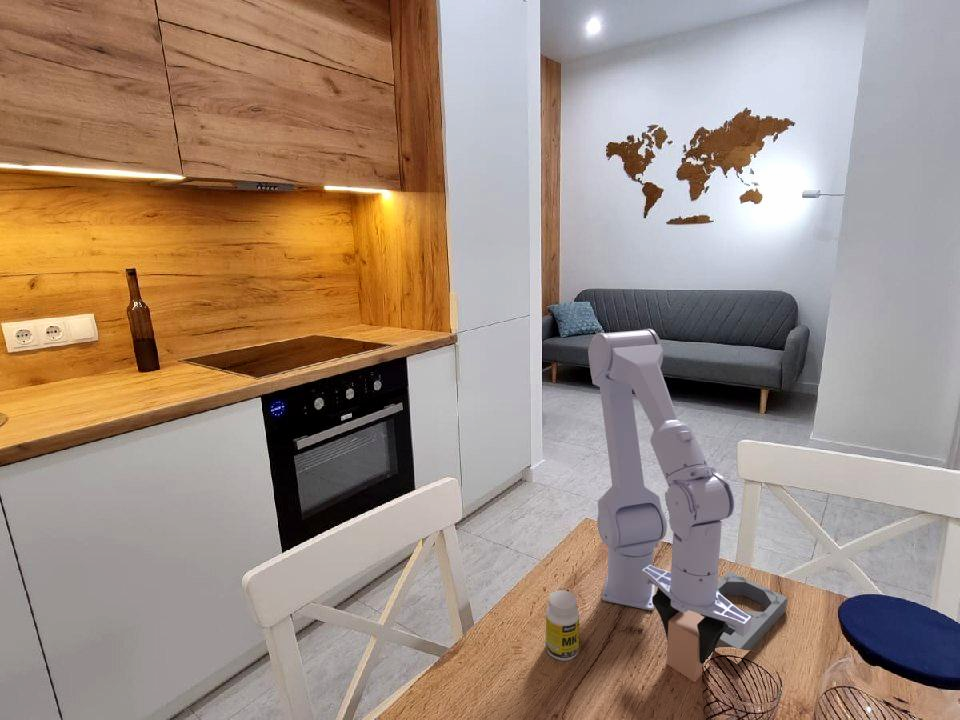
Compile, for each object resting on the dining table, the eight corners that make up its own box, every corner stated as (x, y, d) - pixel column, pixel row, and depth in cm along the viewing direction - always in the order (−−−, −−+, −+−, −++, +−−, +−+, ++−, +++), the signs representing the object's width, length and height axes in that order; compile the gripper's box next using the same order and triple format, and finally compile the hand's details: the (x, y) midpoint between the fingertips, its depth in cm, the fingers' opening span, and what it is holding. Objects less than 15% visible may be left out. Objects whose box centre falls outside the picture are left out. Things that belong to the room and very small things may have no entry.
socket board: (737, 665, 72) (739, 649, 71) (677, 629, 79) (678, 615, 78) (785, 611, 82) (787, 597, 81) (728, 583, 89) (729, 570, 88)
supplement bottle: (563, 667, 73) (563, 615, 71) (539, 648, 76) (538, 598, 74) (585, 649, 76) (586, 599, 74) (561, 632, 79) (561, 583, 77)
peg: (666, 663, 73) (668, 620, 71) (682, 648, 75) (685, 606, 74) (694, 682, 69) (697, 637, 68) (710, 665, 72) (713, 622, 70)
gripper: (629, 550, 72) (627, 634, 75) (735, 604, 61) (727, 700, 64) (658, 531, 76) (655, 612, 79) (762, 578, 65) (753, 669, 68)
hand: (689, 649), depth 72 cm, fingers closed on peg, 4 cm apart
